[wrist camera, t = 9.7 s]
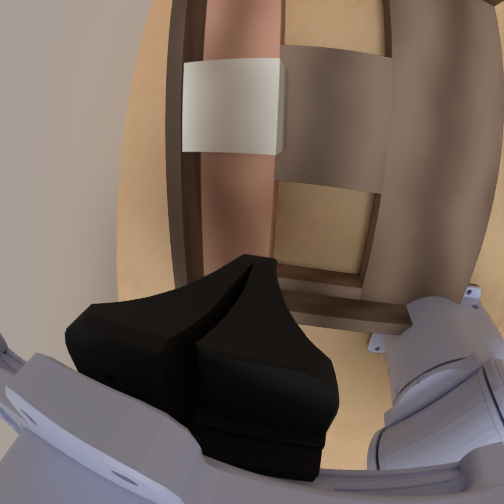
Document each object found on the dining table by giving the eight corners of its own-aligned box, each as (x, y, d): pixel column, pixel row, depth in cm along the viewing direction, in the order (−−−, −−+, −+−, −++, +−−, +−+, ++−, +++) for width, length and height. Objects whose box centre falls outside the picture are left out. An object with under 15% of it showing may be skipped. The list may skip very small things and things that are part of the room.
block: (289, 72, 15) (280, 58, 11) (285, 149, 17) (275, 155, 13) (211, 73, 16) (184, 63, 12) (209, 145, 18) (182, 151, 14)
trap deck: (481, 3, 9) (509, -15, 4) (446, 306, 20) (464, 343, 16) (209, -34, 13) (182, -62, 9) (202, 274, 25) (177, 306, 20)
